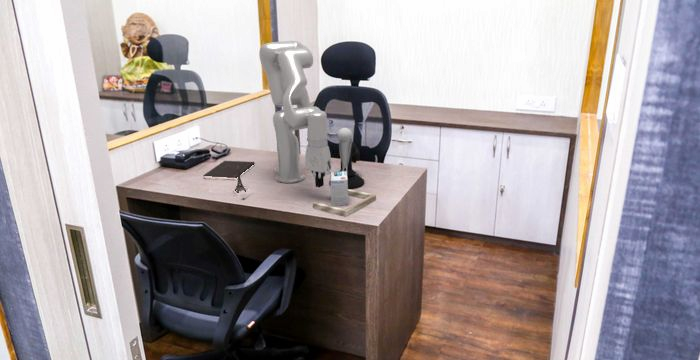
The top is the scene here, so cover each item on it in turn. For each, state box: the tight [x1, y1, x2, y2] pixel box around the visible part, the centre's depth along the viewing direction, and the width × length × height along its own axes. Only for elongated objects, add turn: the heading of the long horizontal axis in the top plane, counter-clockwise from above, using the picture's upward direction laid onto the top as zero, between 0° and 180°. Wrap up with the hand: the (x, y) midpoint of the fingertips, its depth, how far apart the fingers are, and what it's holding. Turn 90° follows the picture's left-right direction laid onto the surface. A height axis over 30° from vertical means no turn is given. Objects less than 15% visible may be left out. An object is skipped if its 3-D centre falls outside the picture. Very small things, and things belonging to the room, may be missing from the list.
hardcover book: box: [202, 160, 256, 178], centre depth 247 cm, size 16×23×2 cm
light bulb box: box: [329, 171, 349, 207], centre depth 206 cm, size 11×7×11 cm, turn 3°
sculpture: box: [329, 127, 365, 190], centre depth 226 cm, size 15×24×25 cm, turn 167°
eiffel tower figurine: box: [234, 167, 247, 193], centre depth 217 cm, size 15×10×13 cm
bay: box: [312, 189, 377, 218], centre depth 204 cm, size 16×20×2 cm
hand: (319, 186), depth 210 cm, fingers closed
